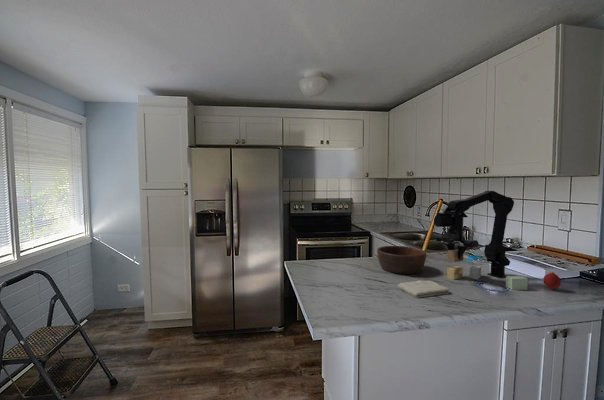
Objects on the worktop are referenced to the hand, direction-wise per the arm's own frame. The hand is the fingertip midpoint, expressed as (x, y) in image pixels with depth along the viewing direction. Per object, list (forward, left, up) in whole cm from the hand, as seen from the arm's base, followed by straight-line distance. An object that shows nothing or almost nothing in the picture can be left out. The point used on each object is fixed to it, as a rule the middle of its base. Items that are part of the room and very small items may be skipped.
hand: (455, 258), depth 141 cm
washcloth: (+29, +5, -10) cm, 31 cm away
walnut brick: (0, 0, -1) cm, 1 cm away
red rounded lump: (-22, +30, -10) cm, 38 cm away
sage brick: (-10, +22, -10) cm, 26 cm away
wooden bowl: (+12, -23, -10) cm, 28 cm away
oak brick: (0, 0, -10) cm, 10 cm away
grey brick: (-10, +4, -10) cm, 14 cm away
